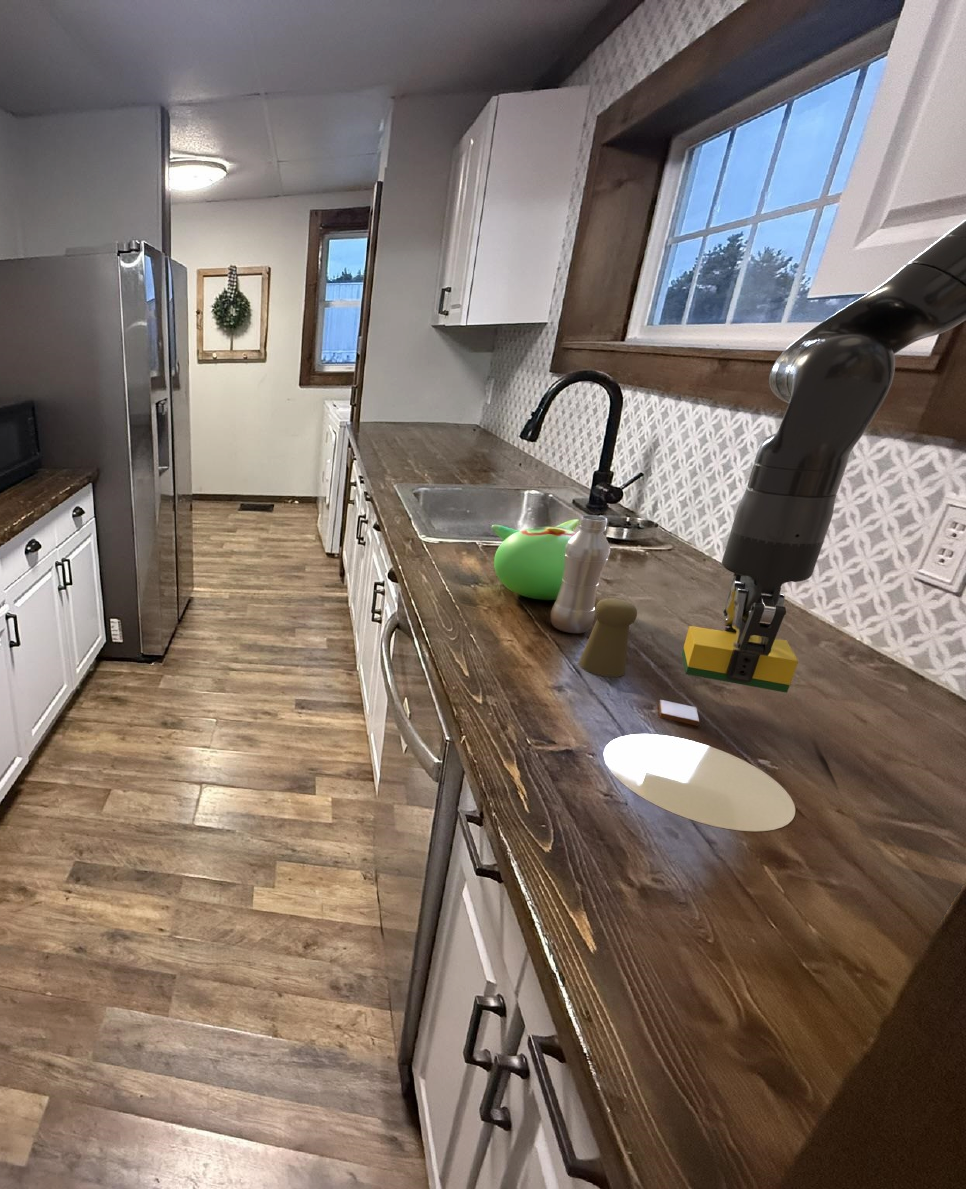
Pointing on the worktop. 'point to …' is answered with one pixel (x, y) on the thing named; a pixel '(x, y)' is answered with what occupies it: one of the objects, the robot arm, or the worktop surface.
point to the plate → (699, 782)
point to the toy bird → (533, 559)
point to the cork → (609, 638)
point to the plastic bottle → (581, 576)
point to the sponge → (713, 652)
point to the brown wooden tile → (678, 712)
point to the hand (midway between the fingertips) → (733, 667)
